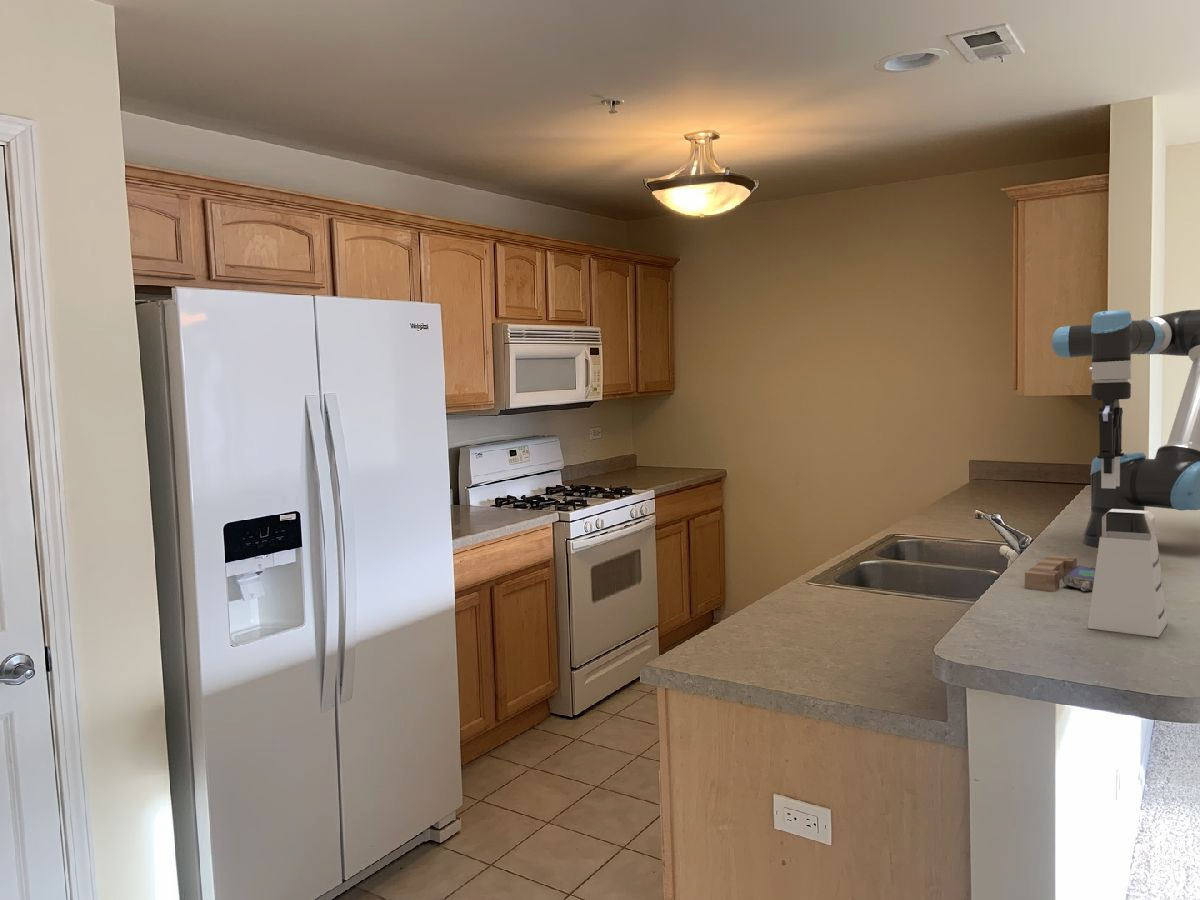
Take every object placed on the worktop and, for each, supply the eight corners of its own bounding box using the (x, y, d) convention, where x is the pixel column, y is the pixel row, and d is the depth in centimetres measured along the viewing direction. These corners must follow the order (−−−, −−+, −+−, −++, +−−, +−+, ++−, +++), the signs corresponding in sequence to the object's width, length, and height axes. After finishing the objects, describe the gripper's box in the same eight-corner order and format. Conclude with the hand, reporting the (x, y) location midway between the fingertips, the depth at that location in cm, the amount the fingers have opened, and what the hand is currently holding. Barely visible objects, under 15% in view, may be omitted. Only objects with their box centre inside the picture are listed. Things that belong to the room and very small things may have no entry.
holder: (1049, 570, 199) (1049, 555, 198) (1159, 581, 185) (1159, 564, 185) (1024, 589, 182) (1024, 572, 182) (1143, 602, 169) (1143, 583, 169)
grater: (1099, 614, 161) (1099, 505, 160) (1167, 622, 155) (1168, 509, 153) (1087, 628, 153) (1087, 513, 152) (1158, 637, 147) (1159, 517, 145)
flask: (1123, 569, 182) (1109, 582, 174) (1123, 583, 182) (1109, 596, 174) (1074, 563, 188) (1058, 575, 180) (1074, 577, 188) (1058, 589, 181)
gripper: (1099, 381, 204) (1099, 482, 206) (1083, 382, 191) (1083, 490, 193) (1137, 380, 200) (1136, 483, 201) (1123, 381, 187) (1123, 492, 188)
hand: (1110, 486), depth 197 cm, fingers open, 4 cm apart
